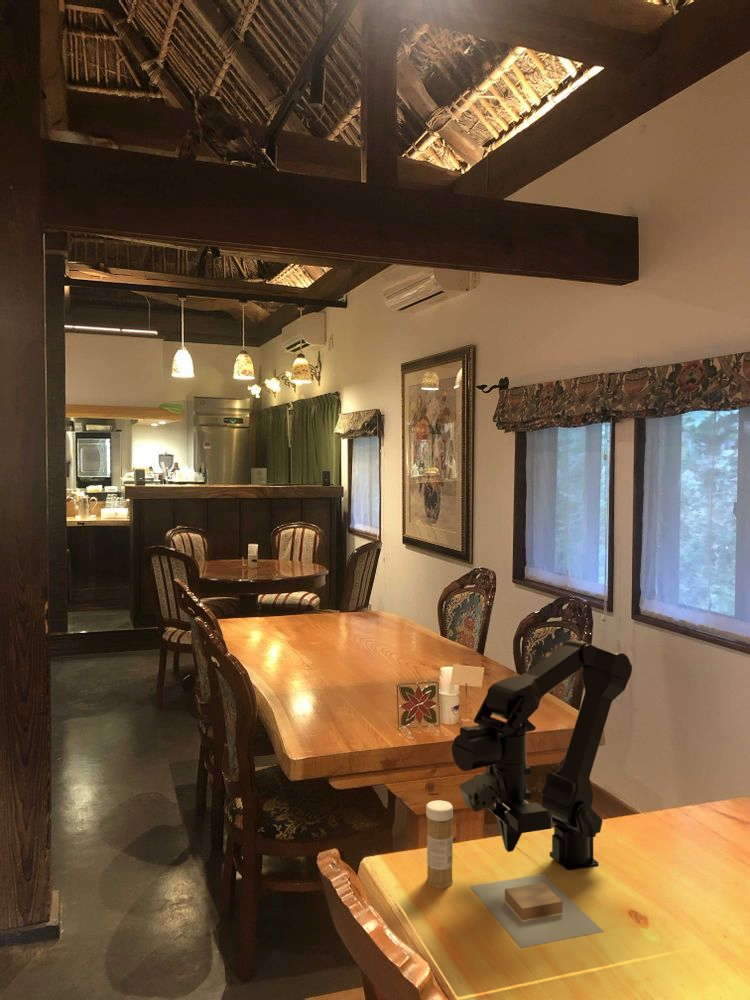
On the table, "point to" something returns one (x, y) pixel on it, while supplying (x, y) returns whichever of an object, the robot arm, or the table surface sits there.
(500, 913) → the slate mat
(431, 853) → the sprinkles bottle
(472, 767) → the robot arm
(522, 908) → the walnut tile
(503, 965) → the table surface
